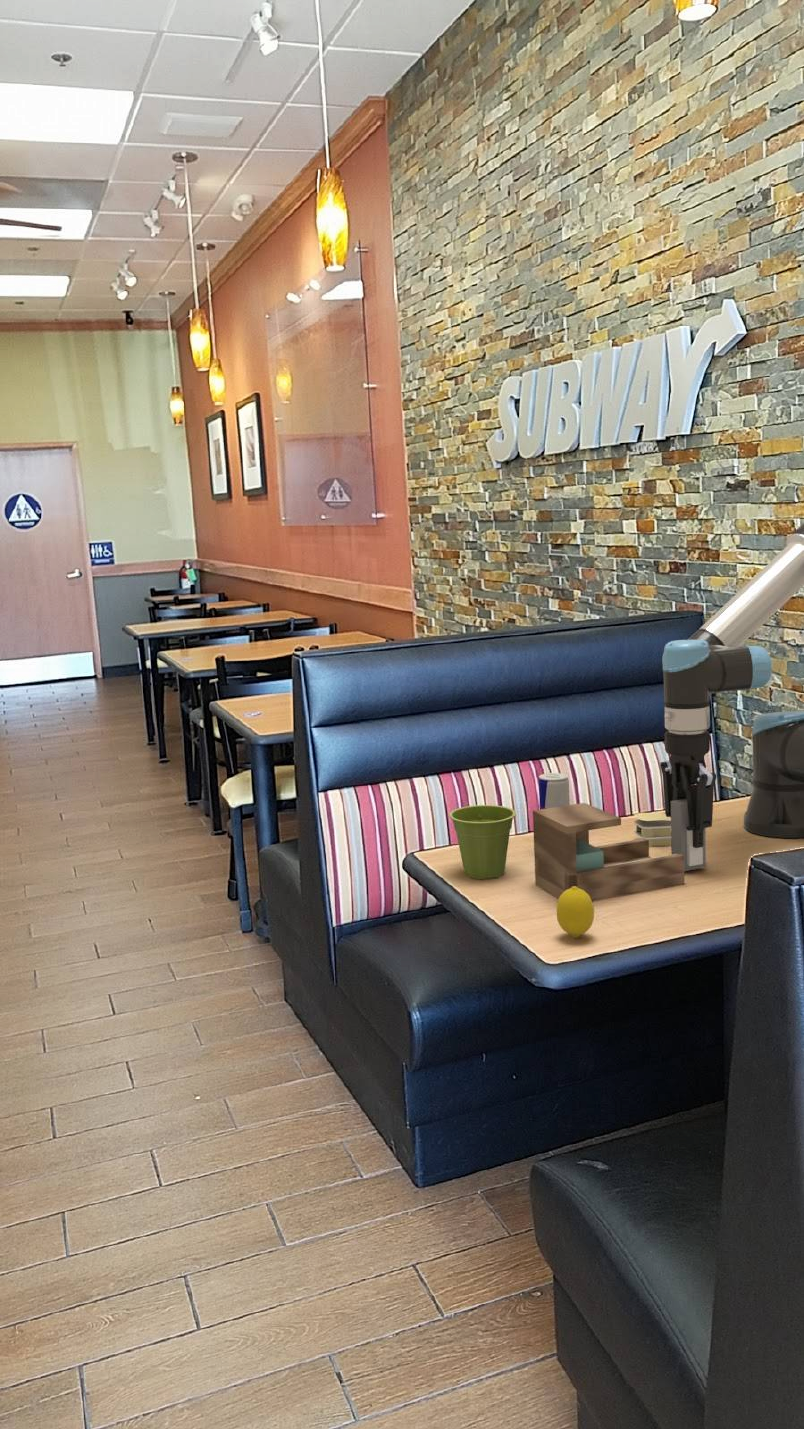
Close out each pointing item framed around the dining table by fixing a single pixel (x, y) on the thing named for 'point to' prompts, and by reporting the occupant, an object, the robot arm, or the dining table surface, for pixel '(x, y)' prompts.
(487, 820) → the plant pot
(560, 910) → the lemon
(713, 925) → the dining table surface
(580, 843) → the pull block
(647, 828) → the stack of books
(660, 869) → the walnut shelf
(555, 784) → the beverage can
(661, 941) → the dining table surface
